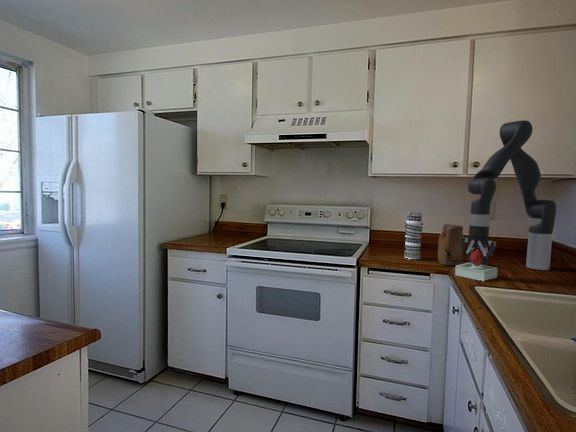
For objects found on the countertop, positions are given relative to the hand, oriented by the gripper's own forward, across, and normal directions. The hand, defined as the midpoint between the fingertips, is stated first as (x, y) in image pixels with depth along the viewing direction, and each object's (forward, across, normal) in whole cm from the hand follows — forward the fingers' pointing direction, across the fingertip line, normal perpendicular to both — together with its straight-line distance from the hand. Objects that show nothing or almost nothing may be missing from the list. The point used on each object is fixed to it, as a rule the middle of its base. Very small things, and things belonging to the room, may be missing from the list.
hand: (476, 263), depth 147 cm
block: (+6, +19, -13) cm, 24 cm away
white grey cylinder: (+6, +38, -10) cm, 40 cm away
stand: (+6, 0, 0) cm, 6 cm away
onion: (+2, 0, 0) cm, 2 cm away
